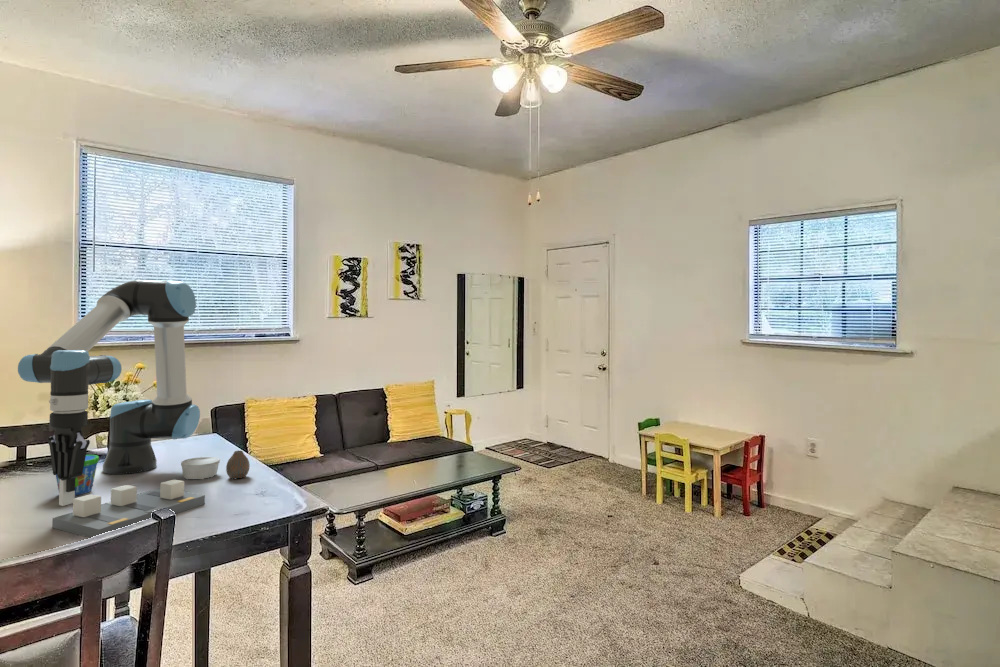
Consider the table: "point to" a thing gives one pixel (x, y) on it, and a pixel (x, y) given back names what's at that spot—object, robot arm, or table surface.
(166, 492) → the knob far
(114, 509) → the switch panel
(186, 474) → the ramekin
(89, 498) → the knob near
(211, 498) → the table surface
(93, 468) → the snack cup
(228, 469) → the vase
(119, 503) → the knob mid
